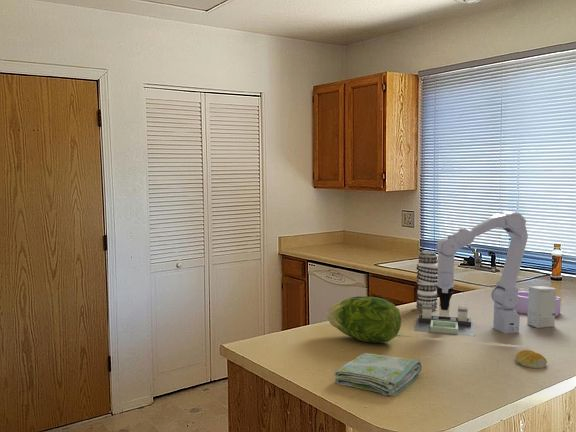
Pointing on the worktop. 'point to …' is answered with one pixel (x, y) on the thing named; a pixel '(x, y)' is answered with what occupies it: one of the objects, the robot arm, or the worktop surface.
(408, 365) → the towel
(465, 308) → the block
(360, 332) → the lettuce
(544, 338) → the worktop surface
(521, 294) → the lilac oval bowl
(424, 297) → the striped tower model
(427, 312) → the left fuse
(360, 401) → the worktop surface
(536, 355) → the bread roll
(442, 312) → the block
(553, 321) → the skincare box
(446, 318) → the panel
